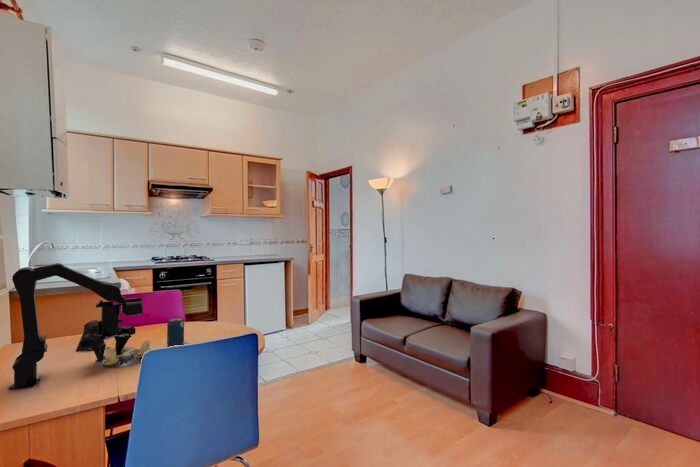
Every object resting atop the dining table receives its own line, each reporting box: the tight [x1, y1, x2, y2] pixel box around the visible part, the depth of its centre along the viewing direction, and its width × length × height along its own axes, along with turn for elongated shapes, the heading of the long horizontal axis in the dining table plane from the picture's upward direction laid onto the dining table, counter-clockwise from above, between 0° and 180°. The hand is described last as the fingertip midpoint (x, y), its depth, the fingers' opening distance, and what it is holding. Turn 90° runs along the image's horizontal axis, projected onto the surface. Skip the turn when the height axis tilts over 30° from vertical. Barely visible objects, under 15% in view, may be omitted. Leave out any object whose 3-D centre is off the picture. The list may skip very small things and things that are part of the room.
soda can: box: [166, 317, 185, 347], centre depth 161 cm, size 7×7×12 cm
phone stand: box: [75, 319, 106, 352], centre depth 154 cm, size 9×6×12 cm, turn 103°
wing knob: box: [102, 345, 118, 367], centre depth 134 cm, size 7×5×6 cm
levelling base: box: [94, 340, 151, 369], centre depth 141 cm, size 20×20×7 cm
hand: (109, 358), depth 133 cm, fingers open, 7 cm apart
